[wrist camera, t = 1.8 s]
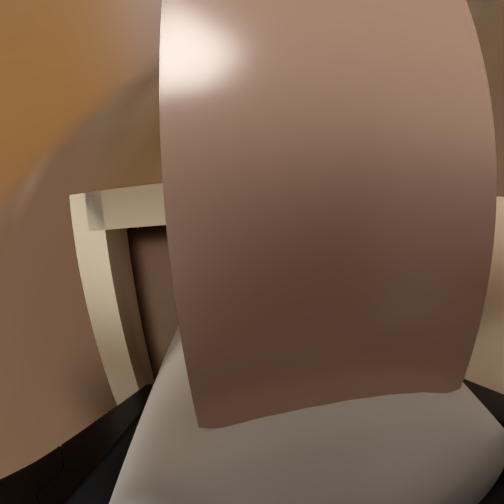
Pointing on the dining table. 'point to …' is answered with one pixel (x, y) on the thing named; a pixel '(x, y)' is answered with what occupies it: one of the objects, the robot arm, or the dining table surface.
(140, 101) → the dining table surface
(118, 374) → the beige u-shaped bar frame
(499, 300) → the coaster
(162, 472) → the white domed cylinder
